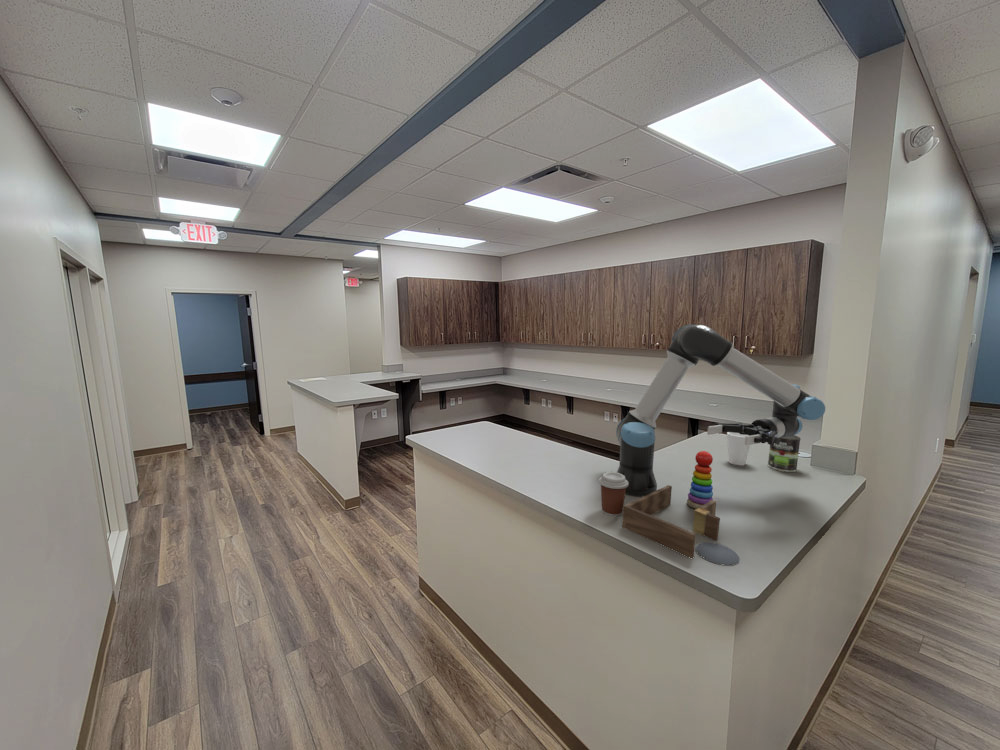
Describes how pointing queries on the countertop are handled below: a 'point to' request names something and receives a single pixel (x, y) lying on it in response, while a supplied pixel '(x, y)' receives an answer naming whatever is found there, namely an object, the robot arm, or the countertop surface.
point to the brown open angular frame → (662, 531)
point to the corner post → (700, 521)
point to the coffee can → (784, 454)
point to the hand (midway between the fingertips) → (726, 435)
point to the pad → (717, 553)
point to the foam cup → (737, 448)
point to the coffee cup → (613, 493)
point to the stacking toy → (701, 481)
